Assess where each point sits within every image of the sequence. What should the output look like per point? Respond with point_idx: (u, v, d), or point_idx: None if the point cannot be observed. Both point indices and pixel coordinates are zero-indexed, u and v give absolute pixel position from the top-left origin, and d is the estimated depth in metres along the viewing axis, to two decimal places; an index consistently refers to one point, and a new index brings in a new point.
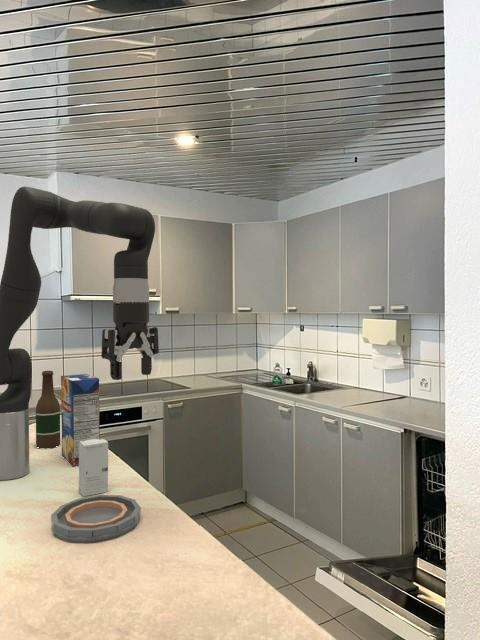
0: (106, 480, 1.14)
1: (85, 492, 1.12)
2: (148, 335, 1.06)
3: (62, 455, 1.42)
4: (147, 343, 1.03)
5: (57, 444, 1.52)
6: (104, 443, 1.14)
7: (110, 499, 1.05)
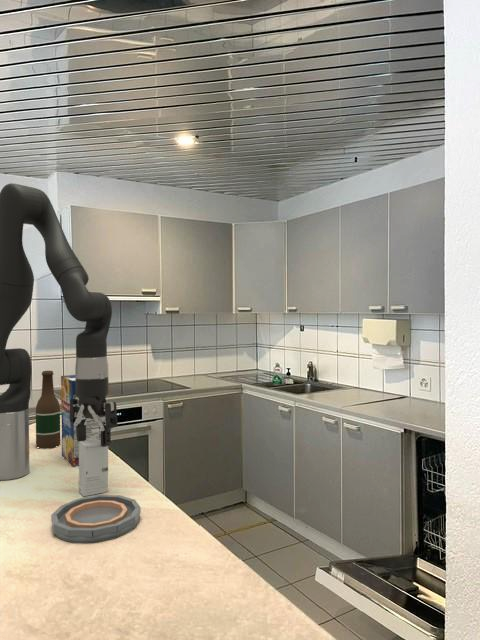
0: (106, 480, 1.14)
1: (85, 492, 1.12)
2: (79, 405, 1.17)
3: (62, 455, 1.42)
4: None
5: (57, 444, 1.52)
6: None
7: (110, 499, 1.05)
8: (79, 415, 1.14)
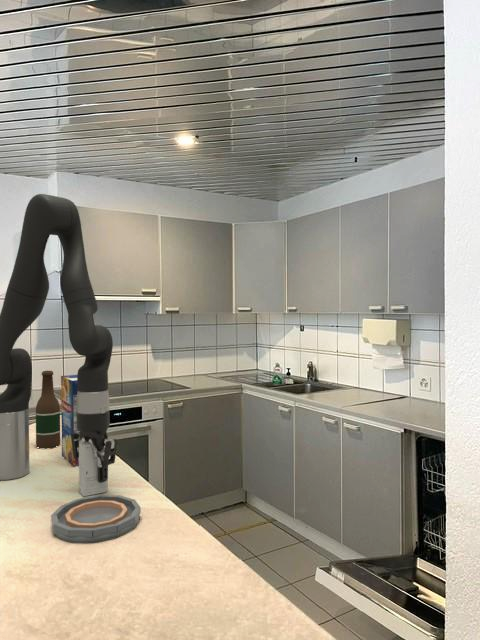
0: (106, 480, 1.14)
1: (85, 492, 1.12)
2: (81, 439, 1.17)
3: (62, 455, 1.42)
4: None
5: (57, 444, 1.52)
6: None
7: (110, 499, 1.05)
8: None
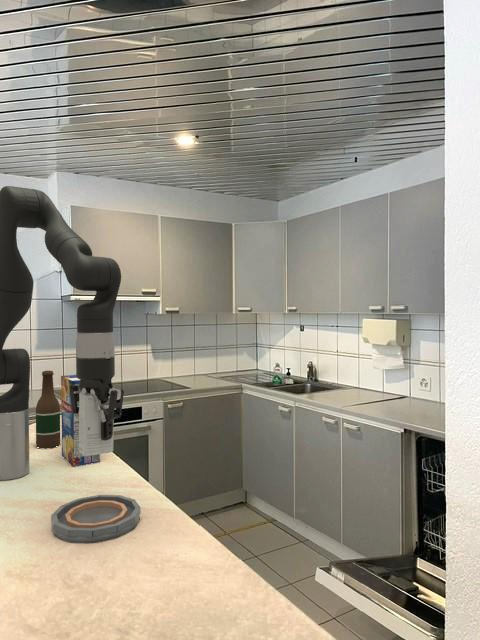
0: (111, 438, 0.97)
1: (87, 451, 0.95)
2: (81, 391, 1.00)
3: (62, 455, 1.42)
4: None
5: (57, 444, 1.52)
6: None
7: (110, 499, 1.05)
8: None
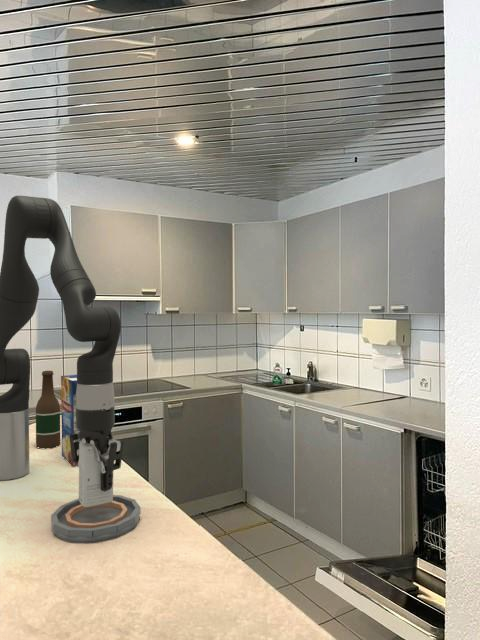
0: (111, 488, 0.98)
1: (86, 503, 0.95)
2: (81, 440, 1.00)
3: (62, 455, 1.42)
4: None
5: (57, 444, 1.52)
6: None
7: None
8: None
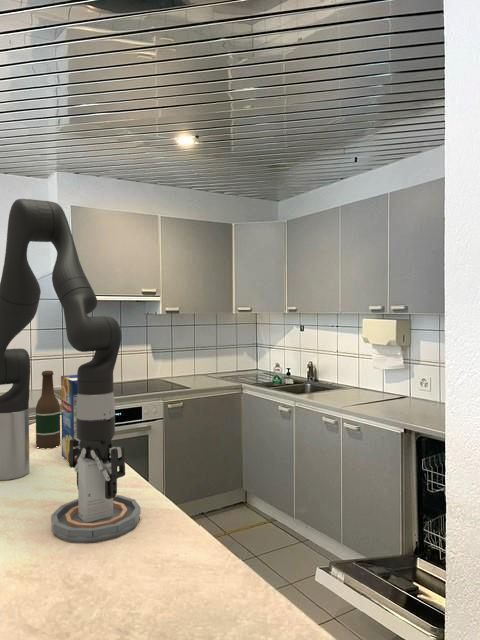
0: (111, 502, 0.98)
1: (87, 518, 0.95)
2: None
3: (62, 455, 1.42)
4: None
5: (57, 444, 1.52)
6: None
7: None
8: None
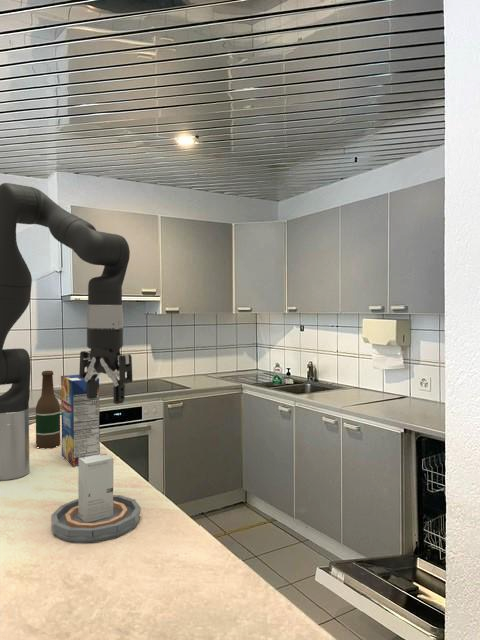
0: (111, 503, 0.98)
1: (87, 518, 0.95)
2: None
3: (62, 455, 1.42)
4: None
5: (57, 444, 1.52)
6: (109, 459, 0.98)
7: None
8: (90, 369, 1.03)
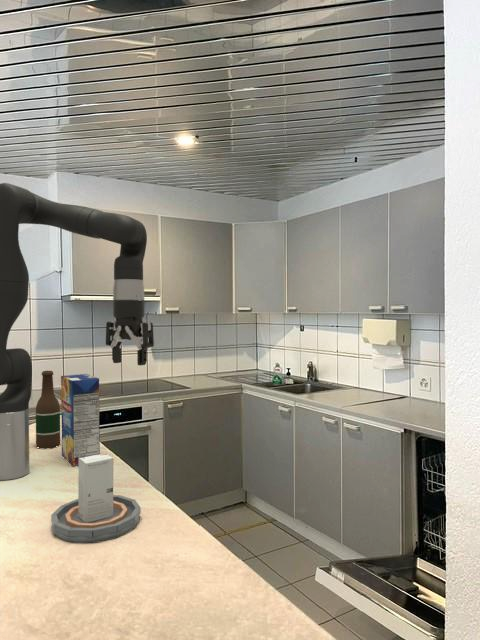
0: (111, 503, 0.98)
1: (87, 518, 0.95)
2: (115, 328, 1.21)
3: (62, 455, 1.42)
4: None
5: (57, 444, 1.52)
6: (109, 459, 0.98)
7: None
8: (116, 336, 1.19)
